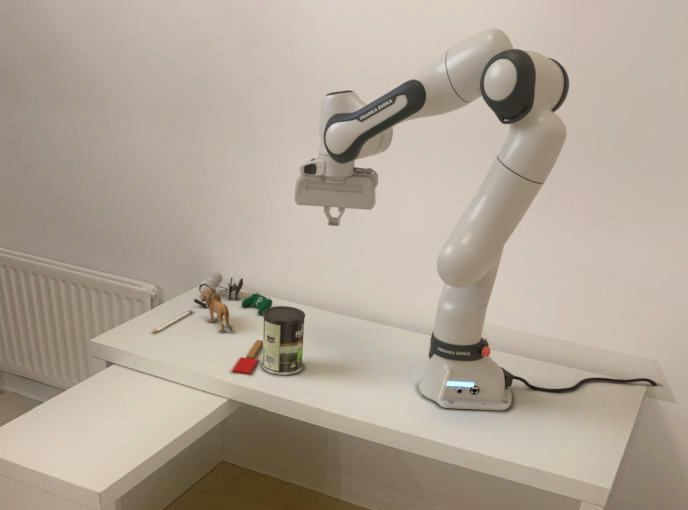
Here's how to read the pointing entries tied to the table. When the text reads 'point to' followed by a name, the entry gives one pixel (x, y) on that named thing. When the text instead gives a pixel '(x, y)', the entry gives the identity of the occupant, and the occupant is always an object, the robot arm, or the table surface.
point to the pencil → (172, 321)
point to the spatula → (248, 360)
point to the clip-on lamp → (215, 281)
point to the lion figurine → (216, 307)
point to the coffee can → (283, 340)
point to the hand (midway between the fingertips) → (333, 225)
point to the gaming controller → (258, 302)
